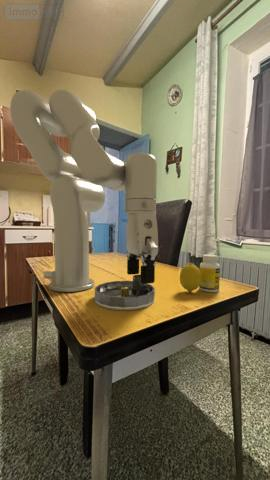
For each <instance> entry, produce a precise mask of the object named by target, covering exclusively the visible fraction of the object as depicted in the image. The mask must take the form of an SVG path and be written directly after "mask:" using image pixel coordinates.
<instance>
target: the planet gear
mask: <svg viewBox="0 0 270 480" xmlns="http://www.w3.org/2000/svg"><path fill="white" fill-rule="evenodd" d="M132 281H133V288H131V293H132V294H134V295H137V296H140V295H145V294H148V288H147V284H148V283H147V284H142V283H141V274H133V275H132Z"/></svg>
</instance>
